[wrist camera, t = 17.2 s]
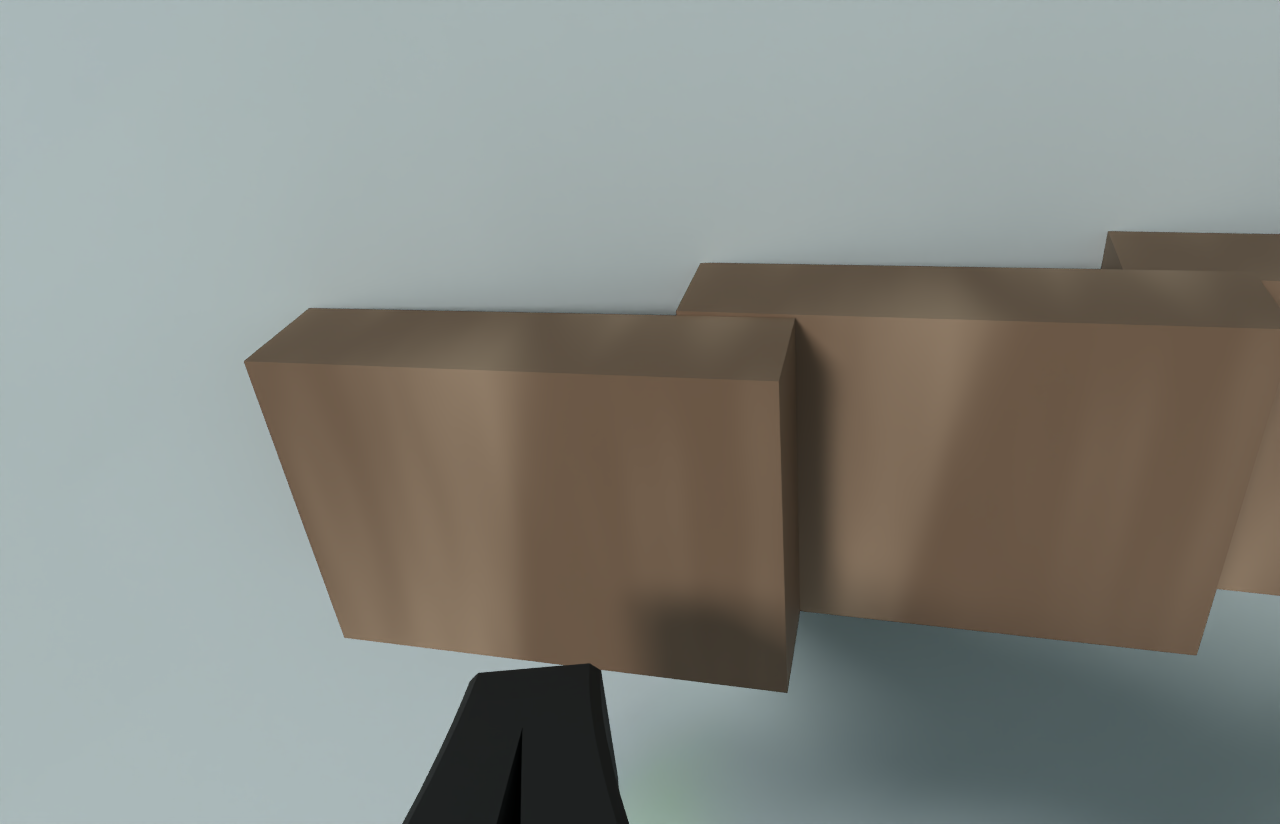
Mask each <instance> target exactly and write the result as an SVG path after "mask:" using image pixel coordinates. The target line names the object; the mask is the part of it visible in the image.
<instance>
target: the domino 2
mask: <svg viewBox="0 0 1280 824" xmlns="http://www.w3.org/2000/svg"><path fill="white" fill-rule="evenodd" d="M676 315H678V316H729V317H780V318H795V348H796V407H797V467H798V526H799V587H800V611H804V612H813V613H822V614H831V615H840V616H849V617H858V618H867V619H876V620H885V621H894V622H902V623H911V624H920V625H929V626H938V627H947V628H956V629H965V630H974V631H983V632H992V633H1001V634H1010V635H1018V636H1027V637H1036V638H1045V639H1054V640H1063V641H1072V642H1081V643H1090V644H1099V645H1108V646H1117V647H1126V648H1134V649H1143V650H1152V651H1161V652H1170V653H1179V654H1188V655H1197V652H1198V649H1199V646H1200V642H1201V639H1202V636H1203V632H1204V629H1205V626H1206V623H1207V619H1208V616H1209V613H1210V609H1211V606H1212V603H1213V599H1214V596H1215V593H1216V590H1217V586H1218V583H1219V580H1220V576H1221V573H1222V570H1223V566H1224V563H1225V560H1226V557H1227V553H1228V550H1229V547H1230V543H1231V540H1232V537H1233V533H1234V530H1235V527H1236V524H1237V520H1238V517H1239V514H1240V510H1241V507H1242V504H1243V501H1244V497H1245V494H1246V491H1247V487H1248V484H1249V481H1250V477H1251V474H1252V471H1253V468H1254V464H1255V461H1256V458H1257V454H1258V451H1259V448H1260V444H1261V441H1262V438H1263V435H1264V431H1265V428H1266V425H1267V421H1268V418H1269V415H1270V411H1271V408H1272V405H1273V402H1274V398H1275V395H1276V392H1277V388H1278V385H1279V382H1280V307H1279V306H1278V304H1277V303H1276V302H1275V300H1274V299H1273V297H1272V296H1271V295H1270V293H1269V292H1268V290H1267V289H1266V288H1265V286H1264V285H1263V283H1262V282H1261V280H1260V279H1259V278H1258V276H1257V275H1256V273H1255V272H1246V271H1184V270H1121V269H1058V268H995V267H933V266H870V265H807V264H744V263H700V265H699V267H698V269H697V271H696V273H695V275H694V277H693V279H692V281H691V283H690V285H689V287H688V289H687V291H686V293H685V295H684V297H683V299H682V301H681V302H680V304H679V306H678V308H677V310H676Z"/></svg>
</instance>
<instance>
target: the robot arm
mask: <svg viewBox="0 0 1280 824" xmlns="http://www.w3.org/2000/svg"><path fill="white" fill-rule="evenodd" d="M402 824H629V822H628V819H627V815H626V812H625V809H624V806H623V803H622V799H621V796H620V792H619V786H618V775H617V769H616V763H615V756H614V750H613V743H612V737H611V731H610V724H609V718H608V712H607V705H606V699H605V693H604V686H603V680H602V674H601V670H600V669H598V668H597V667H595V666H593V665H592V664H590V663H586V664H575V665H563V666H552V667H541V668H529V669H518V670H506V671H495V672H484V673H478V674H477V675H476V676H475V677H474V678H473V679H472V680H471V681H470V682H469V685H468V687H467V690H466V692H465V695H464V697H463V700H462V702H461V704H460V707H459V709H458V711H457V714H456V716H455V718H454V720H453V723H452V725H451V727H450V729H449V732H448V734H447V736H446V738H445V740H444V742H443V744H442V747H441V749H440V751H439V753H438V755H437V757H436V759H435V761H434V763H433V765H432V767H431V769H430V771H429V773H428V775H427V777H426V779H425V781H424V783H423V786H422V788H421V790H420V792H419V793H418V795H417V797H416V799H415V801H414V803H413V805H412V807H411V808H410V810H409V812H408V814H407V816H406V818H405V820H404V822H403V823H402Z"/></svg>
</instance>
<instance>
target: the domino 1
mask: <svg viewBox="0 0 1280 824" xmlns="http://www.w3.org/2000/svg"><path fill="white" fill-rule="evenodd" d="M244 363H245V366H246V369H247V372H248V374H249V377H250V380H251V383H252V385H253V388H254V391H255V394H256V396H257V399H258V402H259V405H260V407H261V410H262V413H263V416H264V418H265V421H266V424H267V427H268V429H269V432H270V435H271V437H272V440H273V443H274V446H275V448H276V451H277V454H278V457H279V459H280V462H281V465H282V468H283V470H284V473H285V476H286V479H287V481H288V484H289V487H290V490H291V492H292V495H293V498H294V501H295V503H296V506H297V509H298V512H299V514H300V517H301V520H302V523H303V525H304V528H305V531H306V533H307V536H308V539H309V542H310V544H311V547H312V550H313V553H314V555H315V558H316V561H317V564H318V566H319V569H320V572H321V575H322V577H323V580H324V583H325V586H326V588H327V591H328V594H329V597H330V599H331V602H332V605H333V608H334V610H335V613H336V616H337V619H338V621H339V624H340V627H341V629H342V632H343V635H344V638H352V639H360V640H368V641H376V642H384V643H392V644H400V645H408V646H416V647H424V648H432V649H440V650H448V651H456V652H464V653H472V654H480V655H488V656H496V657H504V658H512V659H520V660H528V661H536V662H544V663H552V664H560V665H575V664H586V663H590V664H592V665H593V666H595V667H597V668H598V669H600V670H608V671H616V672H624V673H632V674H640V675H648V676H656V677H664V678H672V679H680V680H688V681H696V682H704V683H712V684H720V685H728V686H736V687H744V688H752V689H760V690H768V691H776V692H784V693H787V692H788V686H789V679H790V673H791V667H792V660H793V654H794V647H795V641H796V635H797V628H798V622H799V615H800V587H799V526H798V467H797V407H796V348H795V318H780V317H729V316H678V315H627V314H576V313H526V312H475V311H424V310H373V309H322V308H309V309H308V310H306V311H305V312H304V313H303V314H301V315H300V316H299V317H298V318H296V319H295V320H294V321H293V322H292V323H290V324H289V325H288V326H287V327H285V328H284V329H283V330H282V331H280V332H279V333H278V334H277V335H276V336H274V337H273V338H272V339H271V340H269V341H268V342H267V343H266V344H264V345H263V346H262V347H261V348H259V349H258V350H257V351H256V352H255V353H253V354H252V355H251V356H250V357H248V358H247V359H246V360H245V361H244Z"/></svg>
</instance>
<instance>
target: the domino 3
mask: <svg viewBox="0 0 1280 824" xmlns="http://www.w3.org/2000/svg"><path fill="white" fill-rule="evenodd" d="M1101 269H1121V270H1184V271H1246V272H1255V273H1256V275H1257V276H1258V278H1259V279H1260V280H1261V282H1262V283H1263V285H1264V286H1265V288H1266V289H1267V290H1268V292H1269V293H1270V295H1271V296H1272V297H1273V299H1274V300H1275V302H1276V303H1277V304H1278V306H1279V307H1280V234H1230V233H1175V232H1120V231H1108V234H1107V239H1106V245H1105V250H1104V255H1103V261H1102V266H1101ZM1217 589H1223V590H1232V591H1241V592H1251V593H1260V594H1269V595H1278V596H1280V382H1279V385H1278V388H1277V392H1276V395H1275V398H1274V402H1273V405H1272V408H1271V411H1270V415H1269V418H1268V421H1267V425H1266V428H1265V431H1264V435H1263V438H1262V441H1261V444H1260V448H1259V451H1258V454H1257V458H1256V461H1255V464H1254V468H1253V471H1252V474H1251V477H1250V481H1249V484H1248V487H1247V491H1246V494H1245V497H1244V501H1243V504H1242V507H1241V510H1240V514H1239V517H1238V520H1237V524H1236V527H1235V530H1234V533H1233V537H1232V540H1231V543H1230V547H1229V550H1228V553H1227V557H1226V560H1225V563H1224V566H1223V570H1222V573H1221V576H1220V580H1219V583H1218V586H1217Z"/></svg>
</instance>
